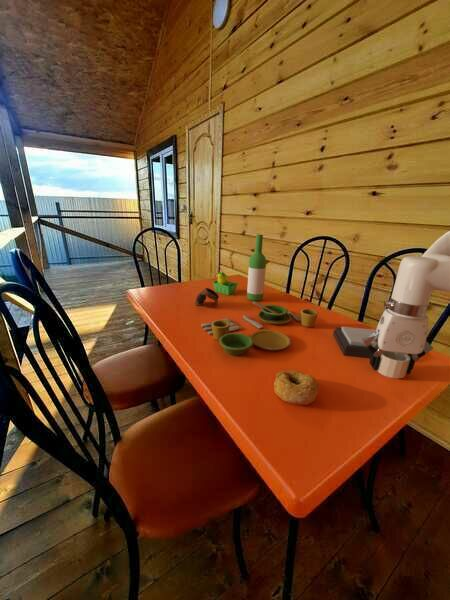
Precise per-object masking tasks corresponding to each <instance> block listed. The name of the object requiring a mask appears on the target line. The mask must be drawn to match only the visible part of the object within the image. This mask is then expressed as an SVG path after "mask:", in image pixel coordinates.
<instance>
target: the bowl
mask: <svg viewBox="0 0 450 600" xmlns="http://www.w3.org/2000/svg"><path fill="white" fill-rule="evenodd" d="M379 357H380V362H379V366H378V370H376V372H378V373H379V374H380V375H381V376H384V377H386V378H389V379H395V380H398V379H403V378H405V377H406V375H407V373H406V372H407V369H408V366H409V363H410V360H411V359H410V356H409V355H408V354H407V353H398V352H389V351H383V352H382V353H381V354H380V355H379Z"/></svg>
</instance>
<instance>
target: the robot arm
mask: <svg viewBox="0 0 450 600" xmlns="http://www.w3.org/2000/svg"><path fill="white" fill-rule="evenodd" d="M398 266H399V267H398V270H397V274H396V278H395V282H394V285H393V289H392V293H391V297H390V298H389V300H387V301H386V300H385V301H384V302H383V307H385V309H384V311H383V313H382V315H381V317H380V319H379V321H378V323H377V326H376V329H375V330H376V332H375V333H373V334H371V335H369V336H367V337H364V338H363V341H364V343H365V345H366V346H367V348H368V349H369V350H370V351H371V357H370V358H369V365H370V366H371V368H372V369H373V371H377V370H378V366H379V362H380V357H379V355H380V354H381V353H382V352H383V351H389V352H398V353H407V354H408V355H409V356H410V359H411V360H410V363H409V366H408V369H407V372H406V375H411V373H412V370H413V369H414V367H415V364H416V362H418V361H419V359H420V358H422V357H424V356H426V354H427V353H429V352H430V351H432V350H433V349H434V347H433V346H432V344H430V343H429V342H428V341H427V336H428V332H429V316H428V315H427V311H428V307H429V305H430V301H431V298H432V294H433V291H441V292H446V293H450V230H448V231H447V232H445V233H444V234H442V235H441V236H439V237H438V238H437V239H436V240H435V241H434V242H433V243H432V244H431V245H430V247H428V249H426V251H424V253H423V254H422V255H421V256H419V255H418V256H417V255H412V256H411V255H410V256H405V257H403V258H402V259H401V260H400V263H399V265H398ZM372 341H375V342H376V344H375V345H374V346H372V345H371V342H372Z"/></svg>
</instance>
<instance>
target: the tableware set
mask: <svg viewBox="0 0 450 600" xmlns="http://www.w3.org/2000/svg"><path fill="white" fill-rule="evenodd" d="M252 304H253V305H255V306H257V307H259V308H260V309H261V311H259V312H258V313H257V318H258V319H259V320H260V321H261V322H263V323H265V324H268V325H274V326H280V325H286V324H288V323H290V322H291V320H292V318H293V320H294V321H297V322H300V323H301V326H303V327H306V328H313V327H314V326H315V324H316V322H317V321H316V320H317V318H318V314H319V312H318V311H317V310H315V309H312V308H303V309H301V310H300V316H299V315H296V314H295V313H292V312H291V311H290V310H288V309H287V308H286V307H284V306H283V305H282V306H281V305H277V304H266V305H263V304H261V303H259V302H258V301H252ZM242 318H243V319H244V320H245V321H247V322H248V323H250V324H251V325H253V326H254V327H255V328H257V329H258V330H256V331H254V332H252V333H251V334H250V335H248V334H245V333H240V332H236V331H239V330H240V326H239V325H237V324H236V323H235V322H233V321H232V319H230V318H222V319H216V320H213V321H212V322H205V323H201V324H200V327H201V328H203V331H204V332H206V331H207V335H209V336H210V335H212V336H213V339H214V340H216V341H218V342H219V344H220V346H221V347H222V348H223V349H224V351H225V352H226V354H228V355H231V356H234V357H235V356H242V355H244V354H246V353H247V352H248V351H249V349H250V348H252V346H253V345H254V346H255V347H257V348H258V349H261V350H264V351H270V352H278V351H283V350H285V349H287V348H289V346H290V345H291V344H292V341H291V338H290V337H289V336H288V335H286V334H285V333H283V332H281V331H277V330H273V329H263V328H264V325H263V324H261V323H260V322H259V321H257V320H254V319H251V317H248V316H247V315H245V314H243V315H242Z"/></svg>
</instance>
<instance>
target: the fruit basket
mask: <svg viewBox="0 0 450 600" xmlns="http://www.w3.org/2000/svg"><path fill="white" fill-rule="evenodd" d="M212 285H213V289H214V292H216V293H219V294H222V295H223V294H224V295H227V296H230V295H233V294H235V293H236V290H237V287H238V285H239V283H237V282H234V281H231V280H230V281H229V276H228V275H227V274H226V273H225V272H224V271H219V272H218V274H217V280H215V281H212Z"/></svg>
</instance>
